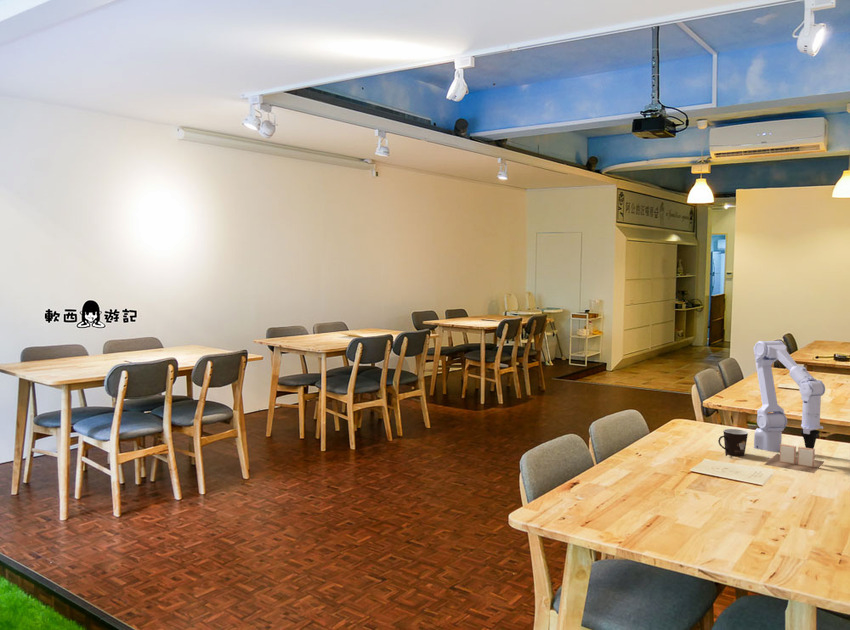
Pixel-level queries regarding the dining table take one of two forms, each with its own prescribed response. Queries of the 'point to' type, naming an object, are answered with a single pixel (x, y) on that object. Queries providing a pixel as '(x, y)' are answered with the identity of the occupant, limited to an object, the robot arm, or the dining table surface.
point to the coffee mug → (734, 442)
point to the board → (776, 462)
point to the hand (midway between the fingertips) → (809, 449)
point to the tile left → (787, 454)
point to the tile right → (806, 456)
